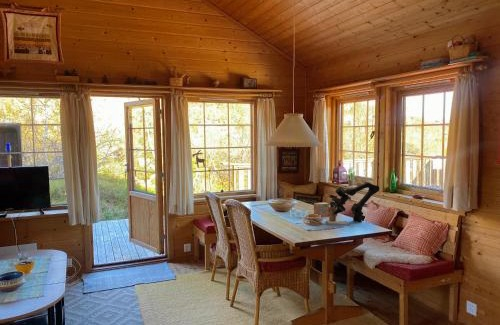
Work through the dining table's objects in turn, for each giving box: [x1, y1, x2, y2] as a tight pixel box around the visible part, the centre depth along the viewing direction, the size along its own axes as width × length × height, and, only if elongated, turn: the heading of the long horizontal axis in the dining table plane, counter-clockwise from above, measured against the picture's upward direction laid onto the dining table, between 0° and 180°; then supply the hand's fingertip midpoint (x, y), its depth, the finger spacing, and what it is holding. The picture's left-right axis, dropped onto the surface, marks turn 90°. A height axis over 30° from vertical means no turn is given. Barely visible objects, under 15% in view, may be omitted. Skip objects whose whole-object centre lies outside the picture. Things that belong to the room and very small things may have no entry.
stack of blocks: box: [313, 201, 338, 218], centre depth 358 cm, size 21×6×12 cm, turn 104°
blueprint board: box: [325, 219, 350, 226], centre depth 328 cm, size 18×11×2 cm, turn 91°
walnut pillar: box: [328, 207, 337, 222], centre depth 329 cm, size 4×4×12 cm
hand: (331, 213), depth 328 cm, fingers open, 9 cm apart
